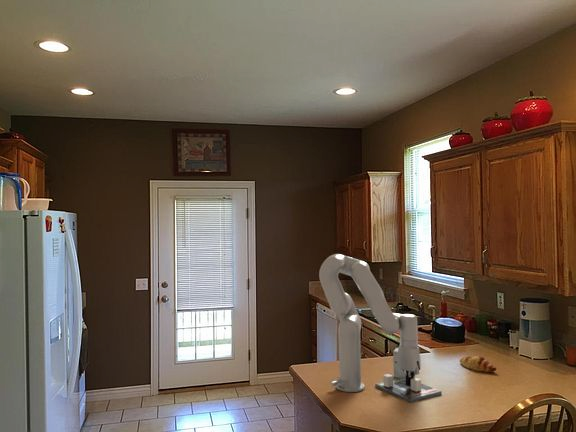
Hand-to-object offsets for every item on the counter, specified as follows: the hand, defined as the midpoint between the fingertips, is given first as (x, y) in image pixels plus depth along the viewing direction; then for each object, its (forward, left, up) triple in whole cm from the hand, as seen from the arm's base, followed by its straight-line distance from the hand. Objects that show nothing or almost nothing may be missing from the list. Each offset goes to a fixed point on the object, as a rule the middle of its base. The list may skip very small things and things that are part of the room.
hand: (409, 385), depth 206 cm
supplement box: (+12, +17, -3) cm, 21 cm away
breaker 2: (0, -4, -1) cm, 4 cm away
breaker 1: (-7, +6, -1) cm, 9 cm away
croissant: (+52, +7, -3) cm, 53 cm away
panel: (0, +1, -3) cm, 3 cm away
